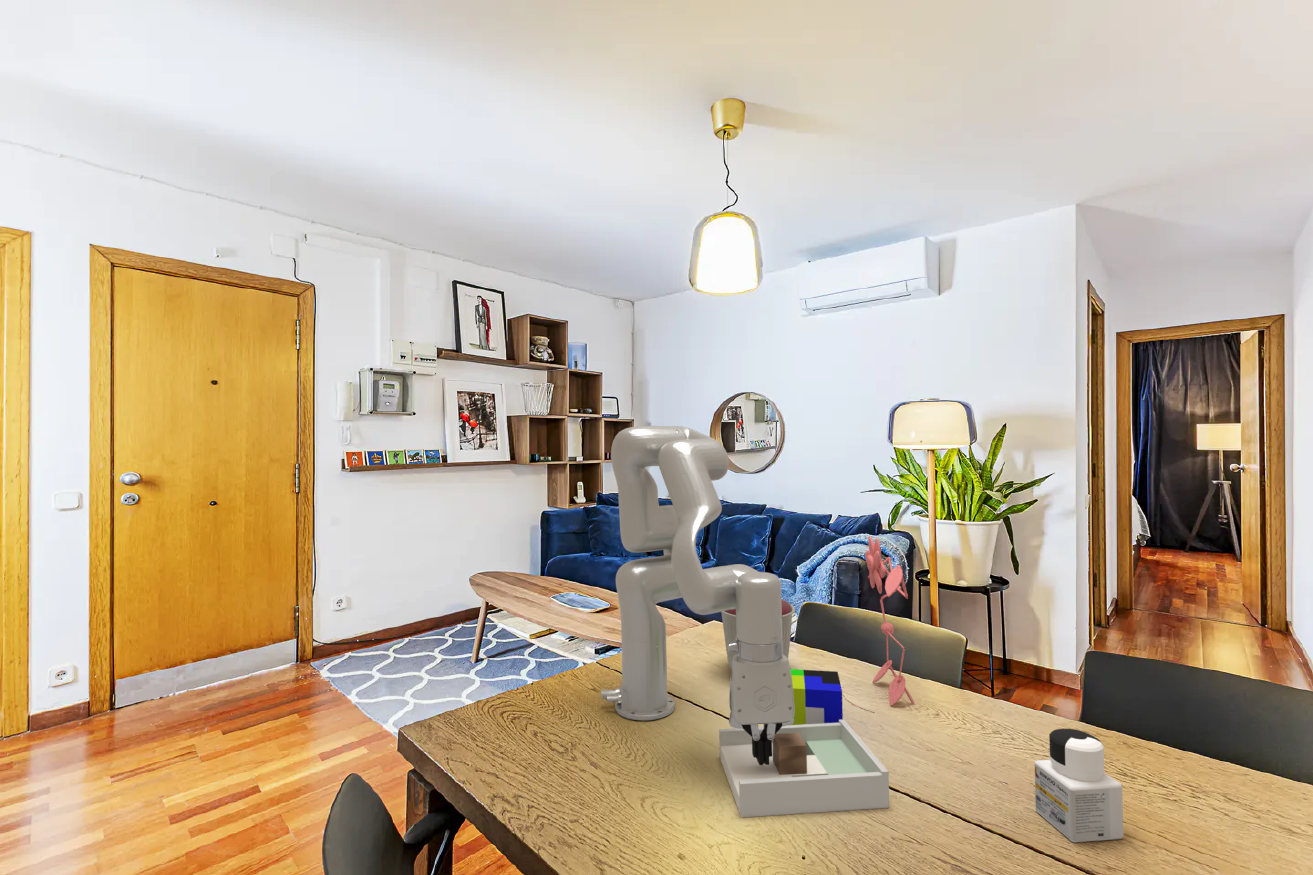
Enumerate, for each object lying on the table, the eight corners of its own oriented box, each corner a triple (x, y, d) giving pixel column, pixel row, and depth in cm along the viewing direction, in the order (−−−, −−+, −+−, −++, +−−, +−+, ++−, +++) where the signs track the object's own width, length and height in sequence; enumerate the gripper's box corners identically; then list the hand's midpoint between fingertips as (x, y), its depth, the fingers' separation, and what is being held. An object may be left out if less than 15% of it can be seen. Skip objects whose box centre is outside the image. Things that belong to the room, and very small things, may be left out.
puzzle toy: (843, 745, 115) (842, 691, 115) (787, 741, 117) (786, 687, 117) (838, 721, 125) (837, 671, 125) (787, 717, 127) (786, 668, 127)
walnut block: (779, 774, 101) (779, 746, 101) (772, 760, 105) (772, 733, 105) (807, 773, 101) (806, 745, 101) (799, 759, 105) (798, 732, 105)
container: (1034, 810, 94) (1032, 724, 94) (1082, 807, 95) (1080, 721, 95) (1072, 843, 86) (1070, 749, 86) (1124, 839, 87) (1122, 746, 87)
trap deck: (741, 817, 94) (740, 780, 94) (719, 757, 112) (719, 726, 112) (889, 807, 95) (888, 771, 95) (844, 749, 113) (844, 719, 113)
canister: (796, 665, 156) (795, 580, 157) (796, 693, 139) (794, 598, 139) (724, 660, 161) (723, 578, 161) (715, 687, 143) (713, 595, 143)
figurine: (895, 673, 150) (889, 527, 150) (931, 721, 124) (923, 545, 124) (830, 673, 151) (824, 528, 152) (851, 721, 126) (844, 547, 126)
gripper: (718, 658, 99) (721, 775, 99) (811, 654, 100) (814, 770, 100) (711, 643, 106) (713, 752, 106) (797, 640, 107) (800, 747, 107)
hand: (762, 760), depth 103 cm, fingers closed
